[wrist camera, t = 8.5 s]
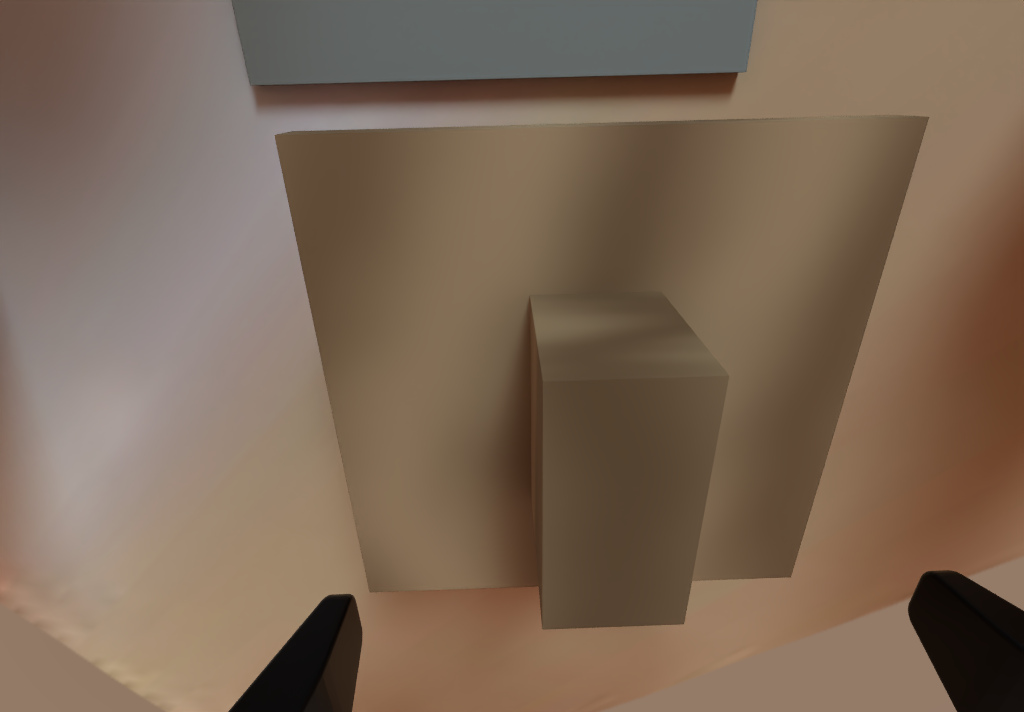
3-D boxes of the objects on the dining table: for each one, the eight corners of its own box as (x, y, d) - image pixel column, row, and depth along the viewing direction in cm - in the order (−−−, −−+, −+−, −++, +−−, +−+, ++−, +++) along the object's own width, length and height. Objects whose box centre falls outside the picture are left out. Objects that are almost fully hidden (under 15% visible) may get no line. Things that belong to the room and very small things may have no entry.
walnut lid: (895, 114, 11) (1148, 131, 7) (775, 552, 17) (872, 712, 13) (292, 131, 11) (157, 159, 7) (376, 566, 17) (333, 733, 13)
